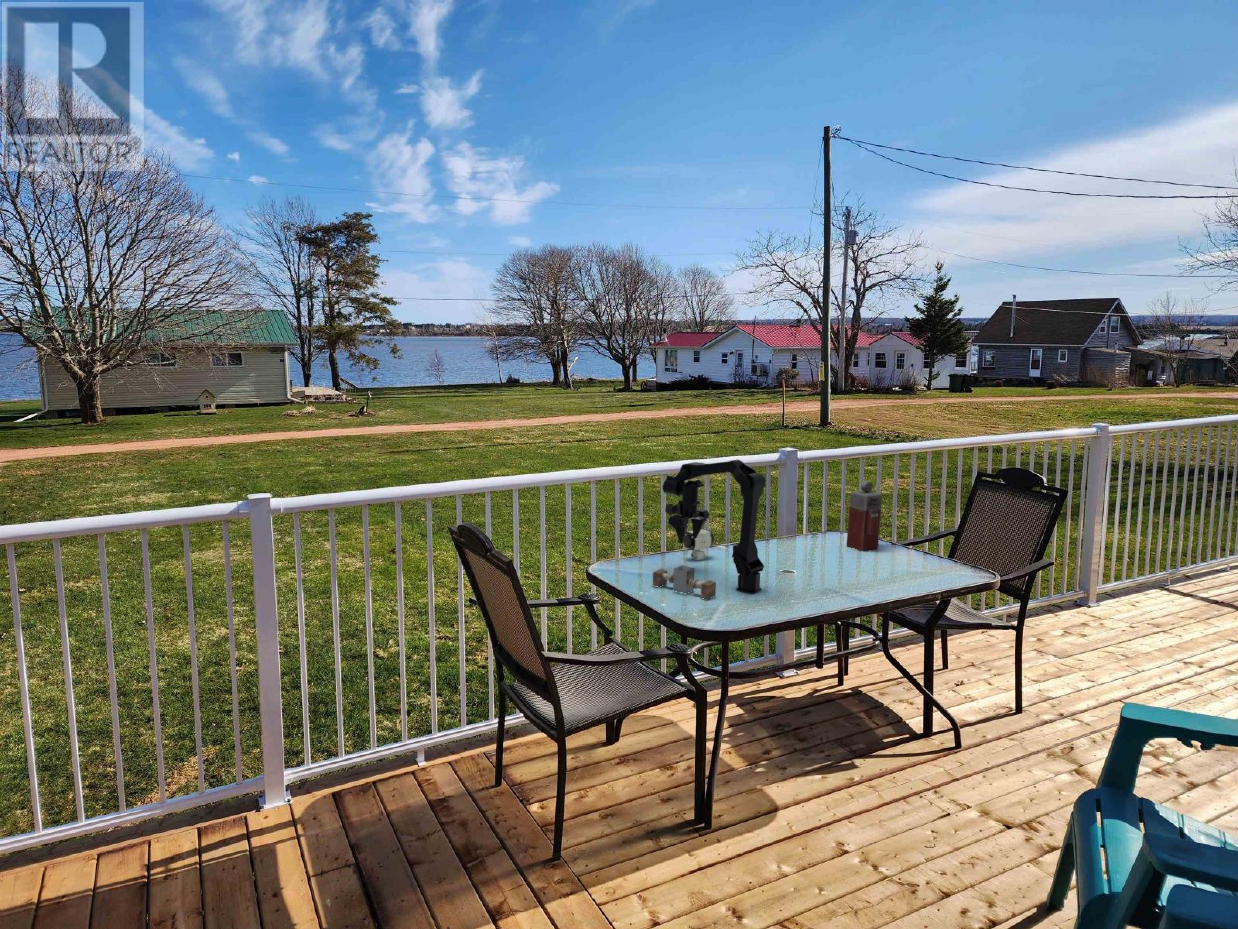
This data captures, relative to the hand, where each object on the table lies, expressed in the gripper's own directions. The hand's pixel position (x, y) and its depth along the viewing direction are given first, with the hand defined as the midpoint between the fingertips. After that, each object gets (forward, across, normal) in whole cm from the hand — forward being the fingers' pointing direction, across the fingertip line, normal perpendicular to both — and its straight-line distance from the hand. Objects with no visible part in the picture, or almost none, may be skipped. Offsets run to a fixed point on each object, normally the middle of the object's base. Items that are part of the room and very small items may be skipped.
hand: (688, 540), depth 275 cm
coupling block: (+12, +18, +10) cm, 24 cm away
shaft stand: (+12, +18, +10) cm, 24 cm away
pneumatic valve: (+12, -18, -6) cm, 23 cm away
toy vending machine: (+12, -78, +37) cm, 87 cm away
